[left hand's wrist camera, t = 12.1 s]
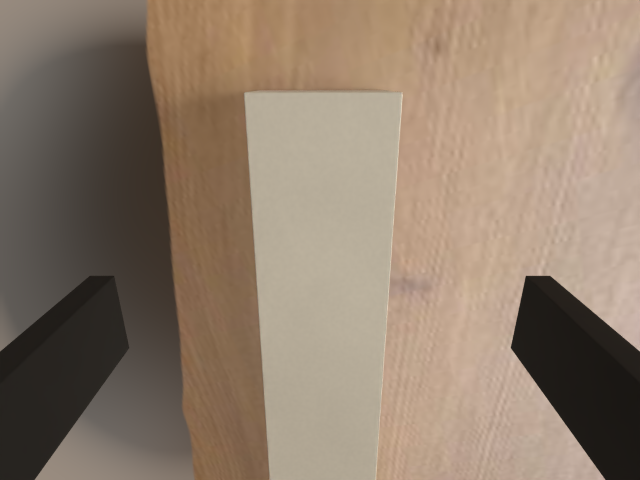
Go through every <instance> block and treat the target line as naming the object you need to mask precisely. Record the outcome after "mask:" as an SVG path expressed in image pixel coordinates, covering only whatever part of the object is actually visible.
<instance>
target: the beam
mask: <svg viewBox="0 0 640 480" xmlns="http://www.w3.org/2000/svg"><path fill="white" fill-rule="evenodd" d="M402 94H403V93H402V92H396V91H388V90H259V91H251V92H245V93H244V102H245V117H246V132H247V147H248V162H249V177H250V193H251V208H252V223H253V238H254V253H255V268H256V283H257V298H258V313H259V328H260V343H261V358H262V373H263V388H264V403H265V418H266V434H267V449H268V464H269V479H270V480H376V468H377V453H378V439H379V425H380V410H381V396H382V382H383V367H384V353H385V338H386V324H387V310H388V295H389V281H390V267H391V252H392V238H393V224H394V209H395V195H396V181H397V166H398V152H399V138H400V123H401V109H402Z"/></svg>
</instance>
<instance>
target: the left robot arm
mask: <svg viewBox="0 0 640 480" xmlns="http://www.w3.org/2000/svg"><path fill="white" fill-rule="evenodd" d="M128 349H129V345H128V340H127V336H126V331H125V326H124V321H123V317H122V312H121V307H120V302H119V297H118V293H117V288H116V283H115V278H114V276H89V277H88V278H87V279H86V280H85V281H83V282H82V283H81V284H80V285H79V286H78V287H76V288H75V289H74V290H73V291H72V292H70V293H69V294H68V295H67V296H66V297H64V298H63V299H62V300H61V301H60V302H58V303H57V304H56V305H55V306H54V307H53V308H51V309H50V310H49V311H48V312H47V313H45V314H44V315H43V316H42V317H41V318H40V319H38V320H37V321H36V322H35V323H34V324H32V325H31V326H30V327H29V328H28V329H26V330H25V331H24V332H23V333H22V334H21V335H19V336H18V337H17V338H16V339H15V340H14V341H12V342H11V343H10V344H9V345H7V346H6V347H5V348H4V349H3V350H2V351H0V480H35V478H36V477H37V476H38V474H39V473H40V471H41V470H42V469H43V467H44V466H45V464H46V463H47V462H48V460H49V459H50V457H51V456H52V455H53V453H54V452H55V450H56V449H57V448H58V446H59V445H60V443H61V442H62V441H63V439H64V438H65V437H66V435H67V434H68V432H69V431H70V430H71V428H72V427H73V425H74V424H75V423H76V421H77V420H78V418H79V417H80V416H81V414H82V413H83V411H84V410H85V409H86V407H87V406H88V405H89V403H90V402H91V400H92V399H93V398H94V396H95V395H96V393H97V392H98V391H99V389H100V388H101V386H102V385H103V384H104V382H105V381H106V379H107V378H108V377H109V375H110V374H111V372H112V371H113V370H114V368H115V367H116V365H117V364H118V363H119V361H120V360H121V359H122V357H123V356H124V354H125V353H126V352H127V350H128ZM511 349H512V350H513V352H514V353H515V354H516V356H517V357H518V359H519V360H520V361H521V363H522V364H523V365H524V367H525V368H526V370H527V371H528V372H529V374H530V375H531V377H532V378H533V379H534V381H535V382H536V384H537V385H538V386H539V388H540V389H541V391H542V392H543V393H544V395H545V396H546V398H547V399H548V400H549V402H550V403H551V405H552V406H553V407H554V409H555V410H556V411H557V413H558V414H559V416H560V417H561V418H562V420H563V421H564V423H565V424H566V425H567V427H568V428H569V430H570V431H571V432H572V434H573V435H574V437H575V438H576V439H577V441H578V442H579V444H580V445H581V446H582V448H583V449H584V450H585V452H586V453H587V455H588V456H589V457H590V459H591V460H592V462H593V463H594V464H595V466H596V467H597V469H598V470H599V471H600V473H601V474H602V476H603V477H604V478H605V480H640V351H638V350H637V349H636V348H635V347H634V346H633V345H631V344H630V343H629V342H628V341H627V340H625V339H624V338H623V337H622V336H621V335H619V334H618V333H617V332H616V331H615V330H614V329H612V328H611V327H610V326H609V325H608V324H606V323H605V322H604V321H603V320H602V319H600V318H599V317H598V316H597V315H596V314H595V313H593V312H592V311H591V310H590V309H589V308H587V307H586V306H585V305H584V304H583V303H582V302H580V301H579V300H578V299H577V298H576V297H574V296H573V295H572V294H571V293H570V292H568V291H567V290H566V289H565V288H564V287H563V286H561V285H560V284H559V283H558V282H557V281H555V280H554V279H553V278H552V277H551V276H526V278H525V283H524V288H523V293H522V297H521V302H520V307H519V312H518V316H517V321H516V326H515V331H514V335H513V340H512V345H511Z"/></svg>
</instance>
